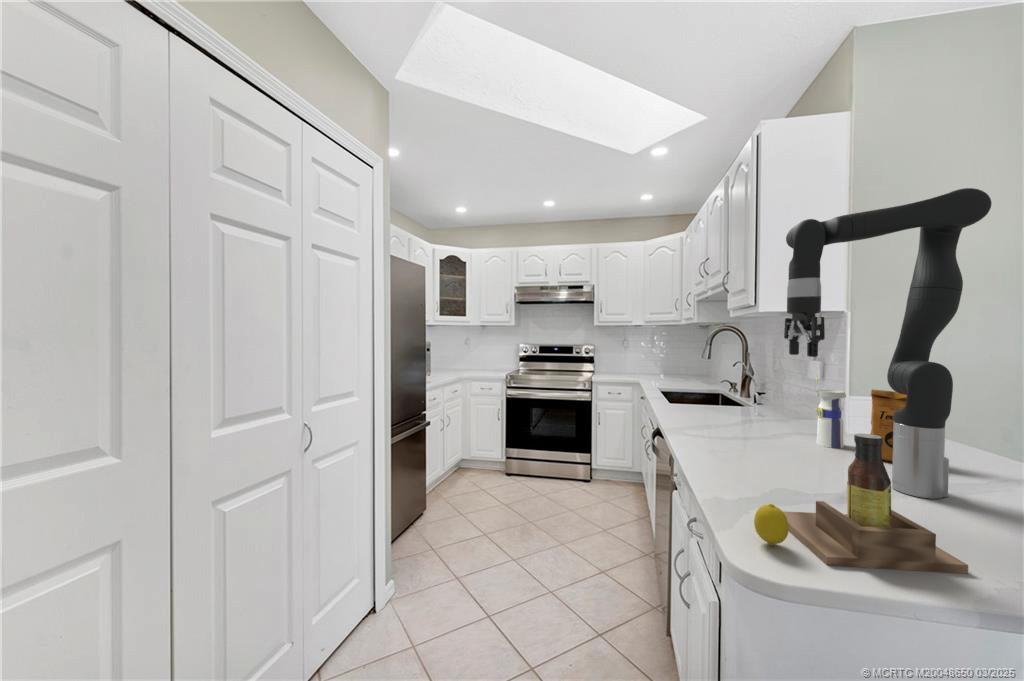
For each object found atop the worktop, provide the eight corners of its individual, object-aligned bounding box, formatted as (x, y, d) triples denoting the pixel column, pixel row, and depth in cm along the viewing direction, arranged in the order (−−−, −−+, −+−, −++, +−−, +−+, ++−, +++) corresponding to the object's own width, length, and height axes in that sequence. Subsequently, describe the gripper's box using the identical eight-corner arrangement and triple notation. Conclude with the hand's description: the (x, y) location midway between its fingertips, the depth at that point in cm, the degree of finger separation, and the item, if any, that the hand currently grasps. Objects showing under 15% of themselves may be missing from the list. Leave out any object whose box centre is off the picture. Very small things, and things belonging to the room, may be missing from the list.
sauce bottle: (899, 551, 73) (902, 441, 72) (859, 547, 74) (862, 439, 74) (875, 533, 79) (878, 432, 79) (838, 530, 81) (841, 430, 80)
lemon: (747, 538, 81) (748, 498, 80) (773, 537, 81) (774, 497, 81) (767, 553, 75) (768, 511, 75) (795, 552, 76) (796, 509, 75)
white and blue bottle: (823, 448, 140) (825, 376, 140) (810, 441, 149) (811, 373, 148) (850, 449, 139) (852, 376, 138) (835, 442, 147) (836, 373, 147)
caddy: (884, 523, 87) (884, 492, 86) (968, 573, 69) (969, 535, 69) (773, 517, 89) (774, 488, 89) (826, 565, 71) (827, 528, 71)
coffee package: (923, 469, 119) (925, 394, 118) (867, 460, 128) (868, 390, 127) (922, 461, 126) (924, 391, 126) (869, 453, 135) (870, 387, 134)
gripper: (836, 293, 103) (835, 357, 103) (803, 297, 117) (802, 354, 117) (804, 294, 104) (803, 357, 104) (775, 298, 118) (774, 354, 118)
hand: (802, 355), depth 111 cm, fingers open, 8 cm apart
